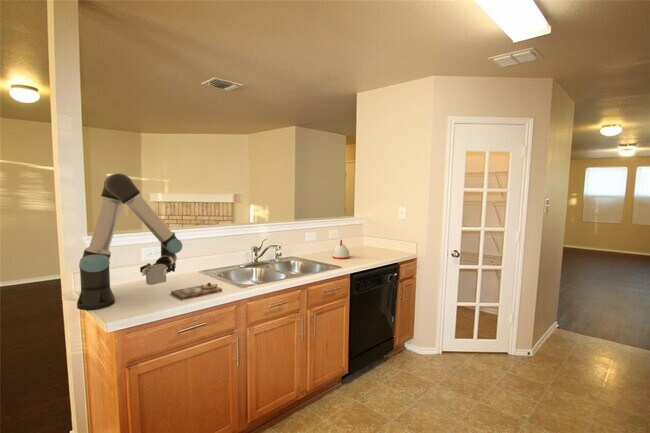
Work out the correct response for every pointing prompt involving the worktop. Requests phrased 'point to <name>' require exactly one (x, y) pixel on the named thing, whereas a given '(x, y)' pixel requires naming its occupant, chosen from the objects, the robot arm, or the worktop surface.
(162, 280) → the medicine box
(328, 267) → the worktop surface
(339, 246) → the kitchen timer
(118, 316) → the worktop surface
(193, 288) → the gear board
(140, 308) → the worktop surface
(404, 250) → the worktop surface
